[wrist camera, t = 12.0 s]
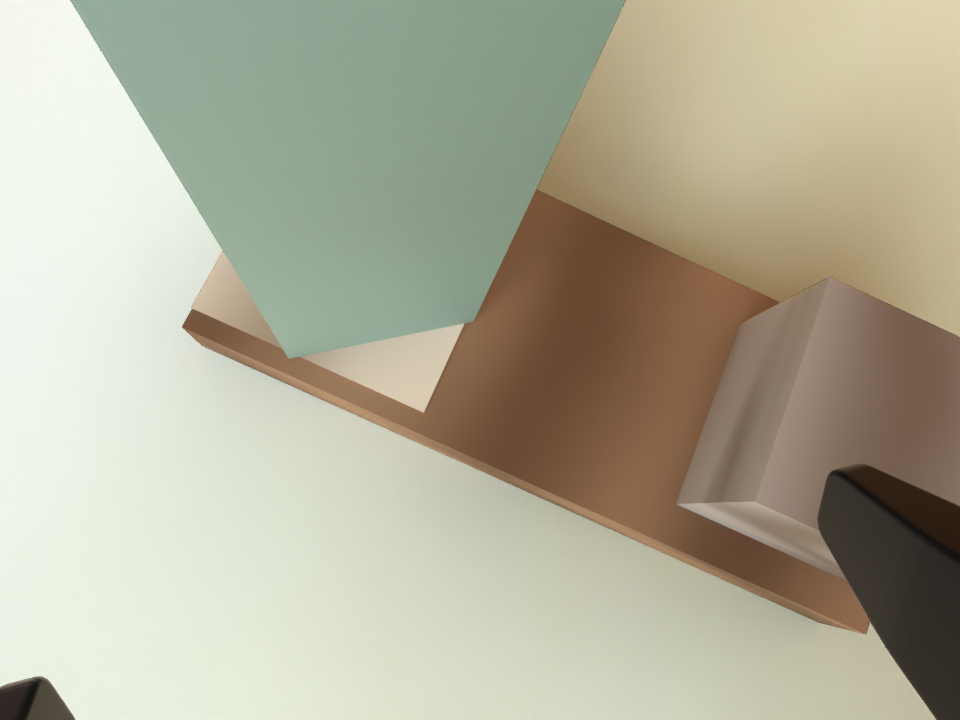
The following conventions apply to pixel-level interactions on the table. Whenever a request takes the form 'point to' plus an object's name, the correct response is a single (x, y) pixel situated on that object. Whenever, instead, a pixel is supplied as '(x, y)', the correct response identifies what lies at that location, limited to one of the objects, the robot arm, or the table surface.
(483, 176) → the pillar
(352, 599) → the table surface
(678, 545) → the brown long stepped block
